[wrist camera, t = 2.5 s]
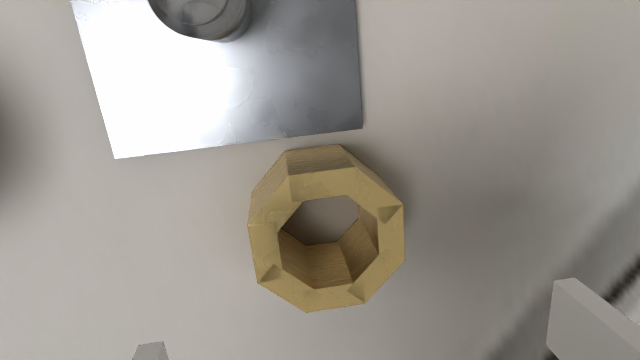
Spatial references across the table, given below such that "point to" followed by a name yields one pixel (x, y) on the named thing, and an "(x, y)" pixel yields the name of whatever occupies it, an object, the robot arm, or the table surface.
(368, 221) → the ring
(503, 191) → the table surface
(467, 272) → the table surface
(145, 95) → the metal peg stand
